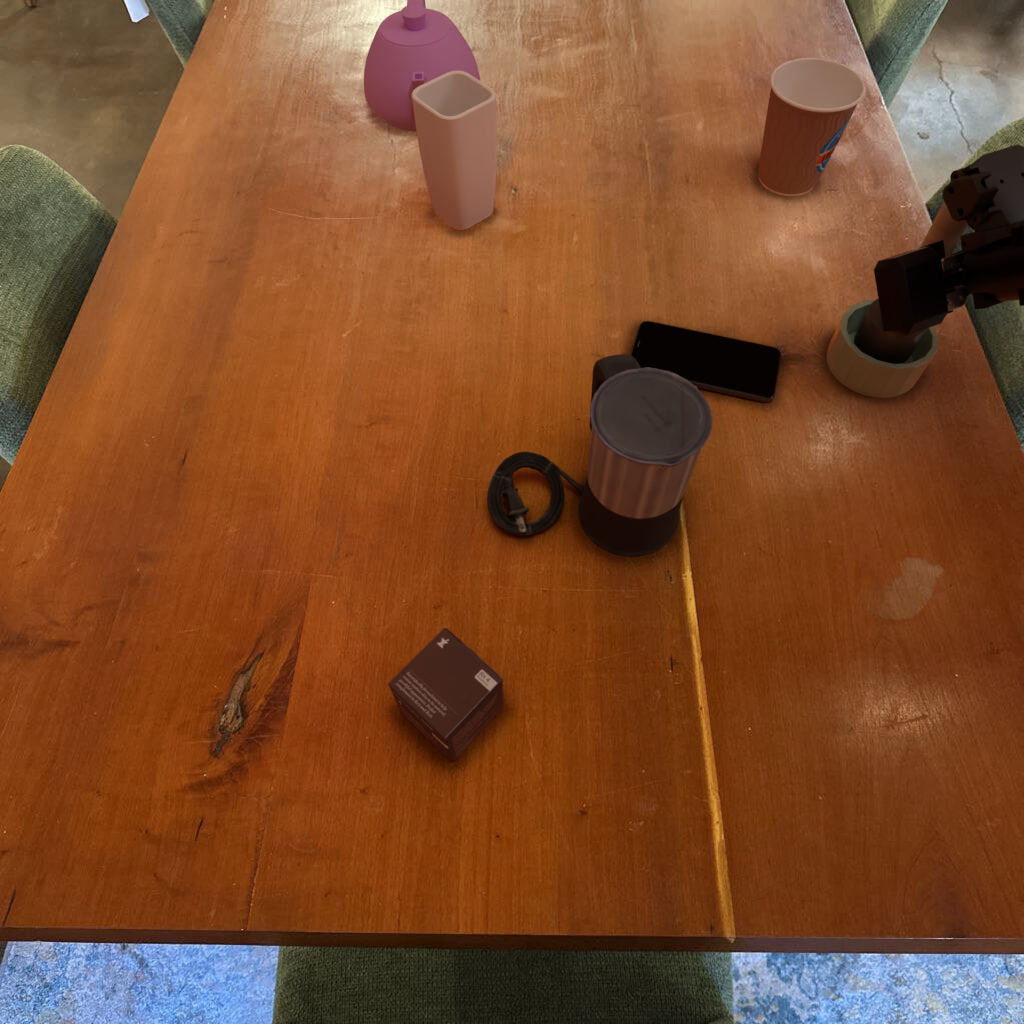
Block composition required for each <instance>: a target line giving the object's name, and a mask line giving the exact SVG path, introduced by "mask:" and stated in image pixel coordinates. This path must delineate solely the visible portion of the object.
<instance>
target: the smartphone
mask: <svg viewBox="0 0 1024 1024" xmlns="http://www.w3.org/2000/svg"><path fill="white" fill-rule="evenodd" d="M629 355H631V356H633V357H634V358H635V359H636V361H637V362H638V364H639V365H640V367H641V368H646V367H650V368H657V369H661V370H666V371H669V372H672V373H675V374H677V375H679V376H680V377H682V378H684V379H686V380H688V381H689V382H691V383H692V384H693V385H694V386H696V387H697V388H698V389H702V390H703V389H704V390H707V391H712V392H716V393H721V394H724V395H730V396H733V397H738V398H744V399H747V400H752V401H756V402H757V401H758V402H760V403H761V402H762V403H769V402H771V401H773V400H774V398H775V396H776V392H777V386H778V380H779V375H780V374H779V373H780V368H781V361H782V352H781V350H780V349H779V348H777V347H775V346H772V345H767V344H763V343H762V344H761V343H756V342H752V341H748V340H743V339H737V338H733V337H729V336H723V335H719V334H714V333H710V332H704V331H699V330H695V329H689V328H687V327H686V328H685V327H680V326H677V325H671V324H666V323H662V322H656V321H651V320H644V321H642V322H641V323H640V324H639V325H638V328H637V331H636V333H635V336H634V340H633V343H632V347H631V350H630V353H629Z"/></svg>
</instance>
